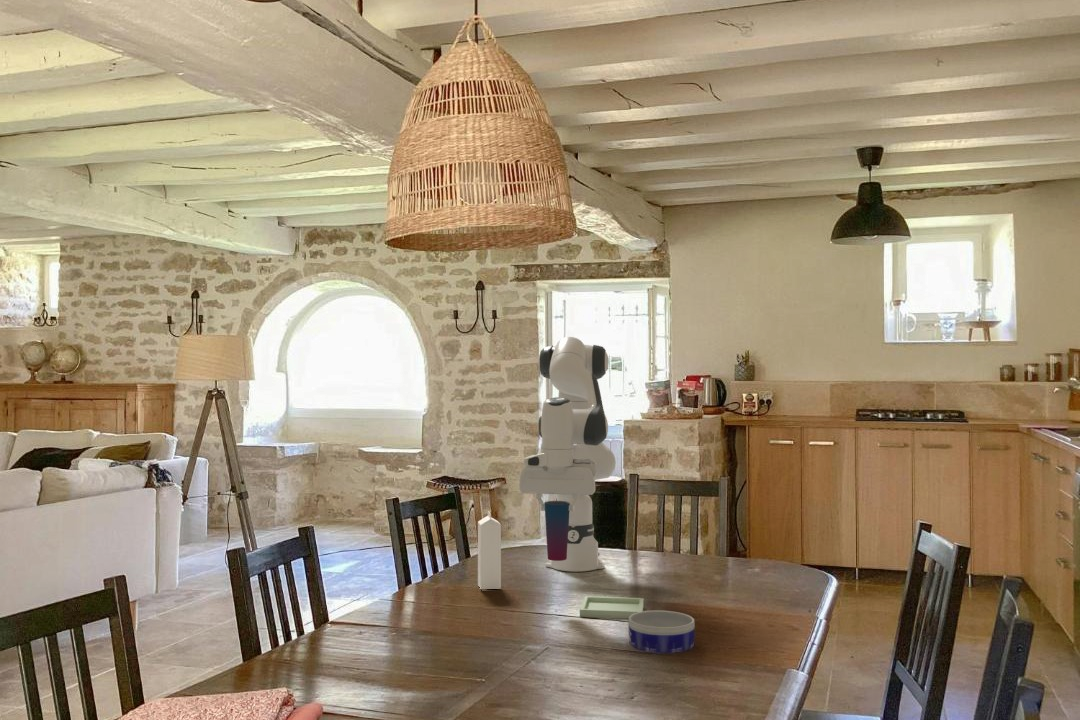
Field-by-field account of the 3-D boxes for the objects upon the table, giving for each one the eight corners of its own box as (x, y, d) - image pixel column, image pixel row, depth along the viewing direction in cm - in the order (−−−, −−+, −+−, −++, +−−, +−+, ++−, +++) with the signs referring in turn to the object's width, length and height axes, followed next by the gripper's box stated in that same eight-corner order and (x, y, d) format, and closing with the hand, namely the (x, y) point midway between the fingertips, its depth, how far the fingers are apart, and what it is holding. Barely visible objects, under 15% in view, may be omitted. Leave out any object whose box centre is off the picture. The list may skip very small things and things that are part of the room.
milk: (480, 590, 265) (480, 514, 265) (477, 585, 271) (477, 510, 271) (501, 589, 266) (501, 513, 266) (498, 584, 272) (497, 509, 272)
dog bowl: (617, 638, 219) (617, 613, 219) (674, 632, 225) (674, 607, 225) (646, 657, 205) (646, 630, 205) (707, 650, 210) (707, 623, 210)
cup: (566, 562, 241) (566, 504, 241) (541, 560, 243) (541, 503, 243) (572, 557, 248) (572, 501, 248) (547, 555, 250) (547, 500, 250)
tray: (584, 602, 251) (584, 596, 251) (643, 604, 249) (643, 598, 249) (579, 616, 237) (579, 609, 237) (642, 619, 235) (642, 611, 235)
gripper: (597, 458, 247) (597, 510, 247) (522, 457, 250) (522, 508, 250) (595, 460, 241) (595, 513, 241) (518, 459, 244) (518, 511, 244)
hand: (557, 510), depth 246 cm, fingers closed on cup, 6 cm apart
